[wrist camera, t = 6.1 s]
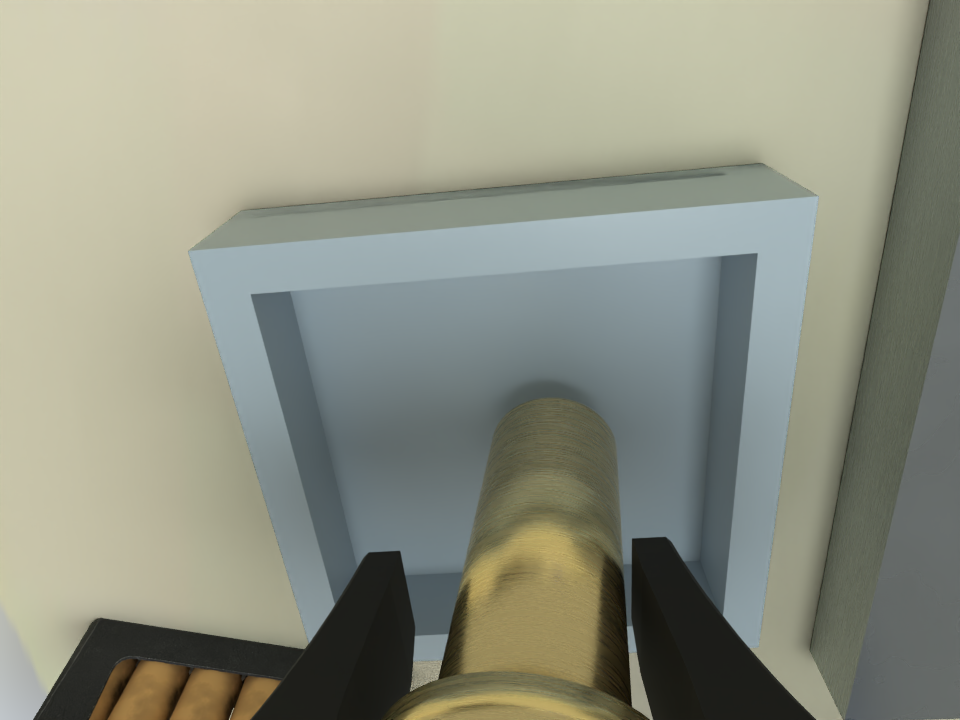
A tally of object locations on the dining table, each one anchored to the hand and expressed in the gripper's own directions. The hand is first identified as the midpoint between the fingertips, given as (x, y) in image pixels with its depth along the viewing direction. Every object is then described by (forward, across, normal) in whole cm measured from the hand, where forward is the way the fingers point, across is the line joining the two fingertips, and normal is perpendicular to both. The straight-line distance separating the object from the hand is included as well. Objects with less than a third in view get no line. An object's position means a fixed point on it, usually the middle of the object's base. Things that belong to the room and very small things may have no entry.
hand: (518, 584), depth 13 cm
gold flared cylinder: (+4, -1, 0) cm, 4 cm away
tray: (+6, 0, 0) cm, 6 cm away
